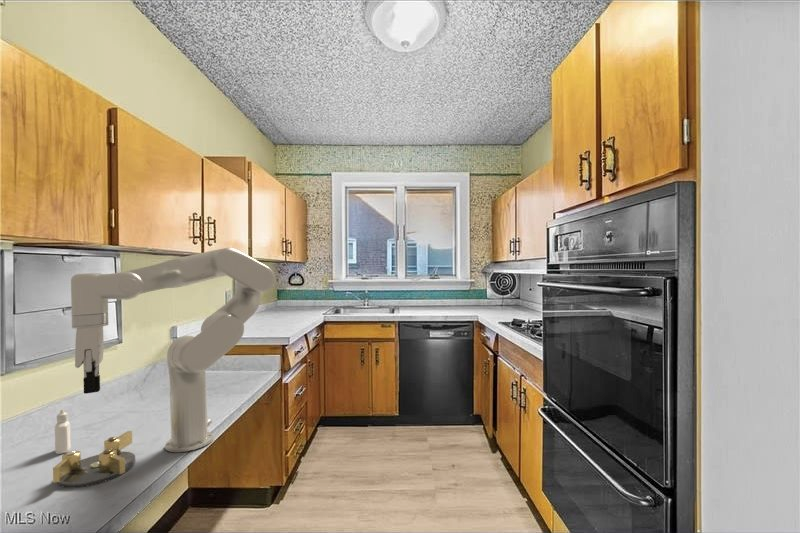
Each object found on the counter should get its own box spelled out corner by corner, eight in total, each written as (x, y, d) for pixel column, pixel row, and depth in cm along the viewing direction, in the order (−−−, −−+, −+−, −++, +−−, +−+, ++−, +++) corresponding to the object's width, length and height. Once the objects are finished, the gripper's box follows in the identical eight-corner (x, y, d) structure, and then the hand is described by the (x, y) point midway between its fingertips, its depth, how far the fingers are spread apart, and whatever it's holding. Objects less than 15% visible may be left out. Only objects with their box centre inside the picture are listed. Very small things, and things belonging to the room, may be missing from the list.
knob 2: (114, 458, 107) (114, 440, 107) (101, 458, 107) (100, 441, 107) (136, 444, 116) (136, 427, 116) (124, 444, 116) (123, 428, 116)
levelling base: (91, 458, 112) (90, 448, 112) (148, 456, 112) (148, 446, 112) (39, 488, 96) (38, 478, 96) (106, 486, 96) (105, 475, 96)
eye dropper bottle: (77, 446, 120) (76, 405, 121) (64, 454, 115) (64, 412, 115) (61, 447, 120) (60, 407, 120) (47, 456, 114) (46, 413, 114)
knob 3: (96, 470, 100) (95, 451, 100) (112, 464, 103) (112, 446, 103) (114, 478, 96) (113, 458, 96) (130, 471, 99) (130, 452, 99)
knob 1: (66, 468, 102) (66, 449, 102) (83, 465, 103) (83, 447, 103) (47, 485, 94) (46, 465, 94) (65, 482, 95) (65, 462, 95)
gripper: (77, 320, 109) (78, 388, 109) (66, 325, 96) (67, 402, 96) (111, 317, 113) (112, 383, 112) (104, 322, 100) (106, 396, 100)
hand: (92, 391), depth 104 cm, fingers closed
